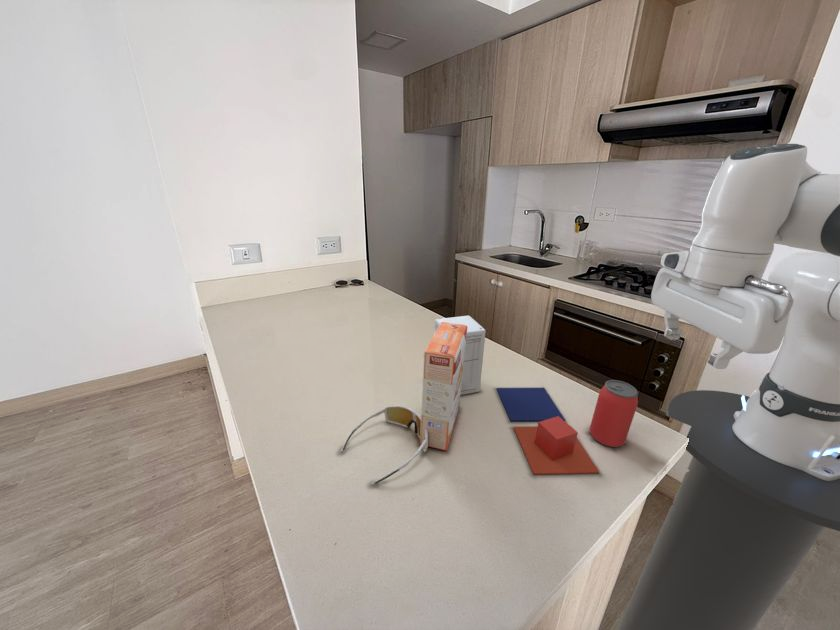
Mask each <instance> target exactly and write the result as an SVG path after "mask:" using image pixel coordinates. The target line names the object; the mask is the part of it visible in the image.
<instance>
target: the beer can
mask: <svg viewBox="0 0 840 630" xmlns="http://www.w3.org/2000/svg"><path fill="white" fill-rule="evenodd" d="M638 393H639V391H638V390H637V388H636V387H634V386H633V385H631V384H630V383H629V382H627V381H626V382H625V381H623V380H618V379H609V380H607V381H605V382H604V384H603V386H602V387H601V389H600V390H599V393H598V396H597V400H596V403H595V407H594V411H593V415H592V417H591V421H590V425H589V433H590V435H591V437H593V439H594V440H595V441H597V443H600V444H602V445H604V446H607V447H610V448H619V447H621V446H623V445H624V444H625V443H626V441H627V437H628V435H629V432H630V429H631V426H632V424H633V420H634V417H635V414H636V411H637V408H638V405H639V398H638Z"/></svg>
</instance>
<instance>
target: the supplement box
mask: <svg viewBox="0 0 840 630" xmlns="http://www.w3.org/2000/svg"><path fill="white" fill-rule="evenodd" d="M441 322H446V323H453V324H461V325H466V326H467V335H466V345H465V354H464V365H463V375H462V384H461V394H460V396H463V395H468V394H473V393H479V392H480V391H481V381H482V371H483V362H484V361H483V360H484V351H485V344H486V343H485V342H486V334H487V333H486V329H485V328H484V327H483V326H482V325H481V324H479V322H477V321H476V320H475V319H474V318H473V317H471V316H470V315H469V314H468V315H461V316H452V317H444V318H435V319H434V332H433V333H434V334H435V332H436V330H437V329H438V327H439V325H440V323H441ZM434 334H433V335H434Z"/></svg>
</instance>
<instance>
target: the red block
mask: <svg viewBox="0 0 840 630" xmlns="http://www.w3.org/2000/svg"><path fill="white" fill-rule="evenodd" d="M537 422H538V423H537V426H536V427H537V432H536V437H535V443H536V444H537V445H538V446H539V447H540V448H541V449H542V450H543V451H544V452H545V453H546V454H547V455H548V456H549V457H550V458H551V459H552V460H555V459H558V458H560V457H563V456H566V455H569V454H571V453H573V450H574V446H575V442H576V438H577V439H578V434H579V432H578V431H577V430H576V429H575V428H573V427H572V426H571V425H570V424H568V423H567V422H566V420H565V421H564V420H562V419H561V418H560V417H559V416H557V417H554V418H550V419H547V420H544V421H537Z"/></svg>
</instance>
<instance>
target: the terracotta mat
mask: <svg viewBox="0 0 840 630" xmlns="http://www.w3.org/2000/svg"><path fill="white" fill-rule="evenodd" d="M537 427H538V426H513V430H514V433H515V435H516V438H517V440H518V442H519V445H520V447H521V450H522V451H523V454H524V456H525V458H526V461H527V463H528V465H529V467H530V470H531V472H532V475H533V476H537V475H538V476H540V475H541V476H542V475H543V476H544V475H545V476H546V475H549V476H550V475H590V474H591V475H593V474H595V475H596V474H600V471H599V469H598V468H597V466H596V465H595V463H594V461H593V460H592V459H591V457H590V456H589V454H588V453H587V451H586V449H585V448H584V447H583V444H582V443H581V442H580V441H579V438H578V437H577V438H576V442H575V446H574V450H573V453H571V454H569V455H566V456H563V457H560V458H558V459H555V460H552V459H551V458H550V457H549V456H548V455H547V454H546V453H545V452H544V451H543V450H542V449H541V448H540V447H539V446H538V445H537V444H536V443H535V437H536V432H537Z"/></svg>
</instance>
